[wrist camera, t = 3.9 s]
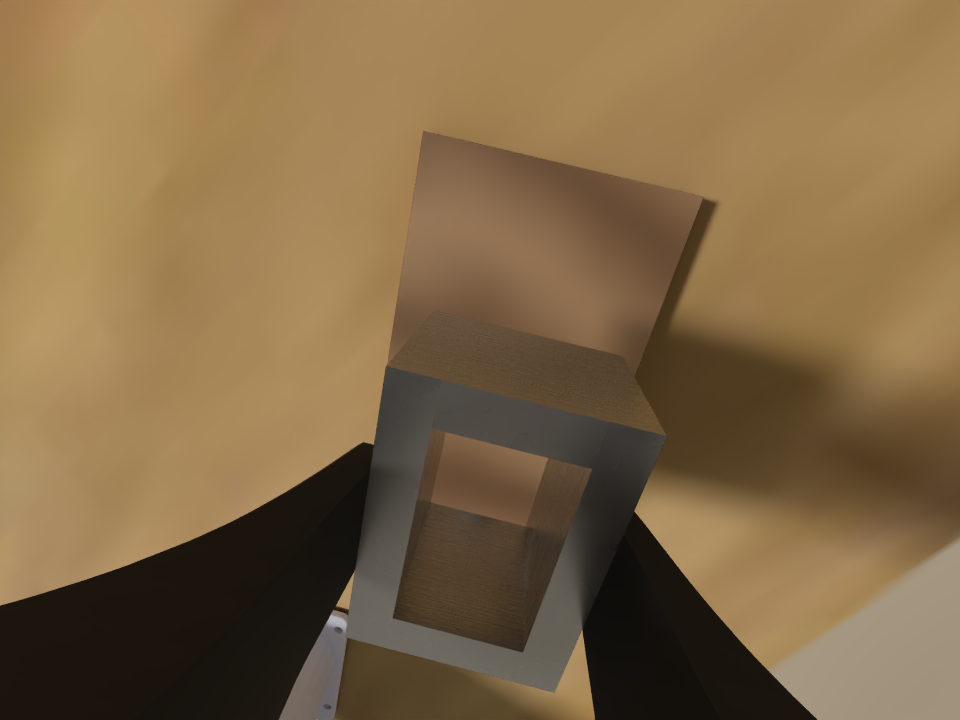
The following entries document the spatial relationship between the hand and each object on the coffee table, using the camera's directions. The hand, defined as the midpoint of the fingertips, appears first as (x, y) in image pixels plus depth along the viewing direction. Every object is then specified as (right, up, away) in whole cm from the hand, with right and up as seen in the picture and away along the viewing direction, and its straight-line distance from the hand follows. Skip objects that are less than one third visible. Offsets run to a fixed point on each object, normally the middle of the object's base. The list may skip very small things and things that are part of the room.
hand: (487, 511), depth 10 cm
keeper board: (+1, +3, +9) cm, 10 cm away
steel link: (0, +1, +3) cm, 3 cm away
